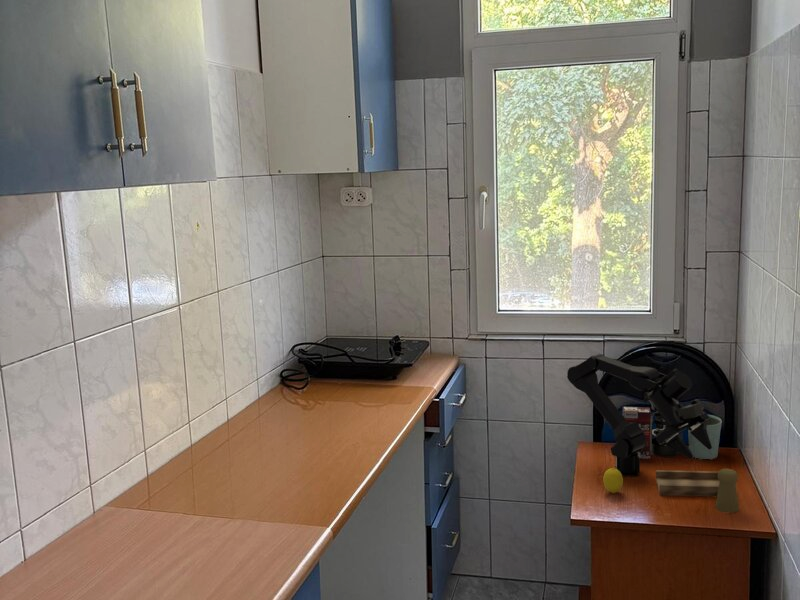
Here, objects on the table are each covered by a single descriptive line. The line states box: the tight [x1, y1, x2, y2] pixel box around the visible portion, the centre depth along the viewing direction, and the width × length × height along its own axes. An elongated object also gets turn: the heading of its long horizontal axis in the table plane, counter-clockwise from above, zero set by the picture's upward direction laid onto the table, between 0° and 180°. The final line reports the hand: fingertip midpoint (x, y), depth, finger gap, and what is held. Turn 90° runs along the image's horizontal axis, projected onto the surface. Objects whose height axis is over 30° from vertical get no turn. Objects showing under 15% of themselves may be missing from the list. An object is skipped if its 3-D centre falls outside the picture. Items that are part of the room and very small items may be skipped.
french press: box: [649, 386, 680, 458], centre depth 257 cm, size 12×9×23 cm
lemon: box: [602, 467, 624, 494], centre depth 231 cm, size 6×6×8 cm
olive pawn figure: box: [715, 468, 740, 514], centre depth 218 cm, size 6×6×11 cm
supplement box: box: [622, 406, 652, 460], centre depth 255 cm, size 9×5×16 cm, turn 77°
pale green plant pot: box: [687, 413, 723, 460], centre depth 253 cm, size 10×10×12 cm
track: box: [655, 469, 720, 498], centre depth 232 cm, size 20×10×3 cm, turn 79°
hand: (701, 453), depth 223 cm, fingers open, 9 cm apart
